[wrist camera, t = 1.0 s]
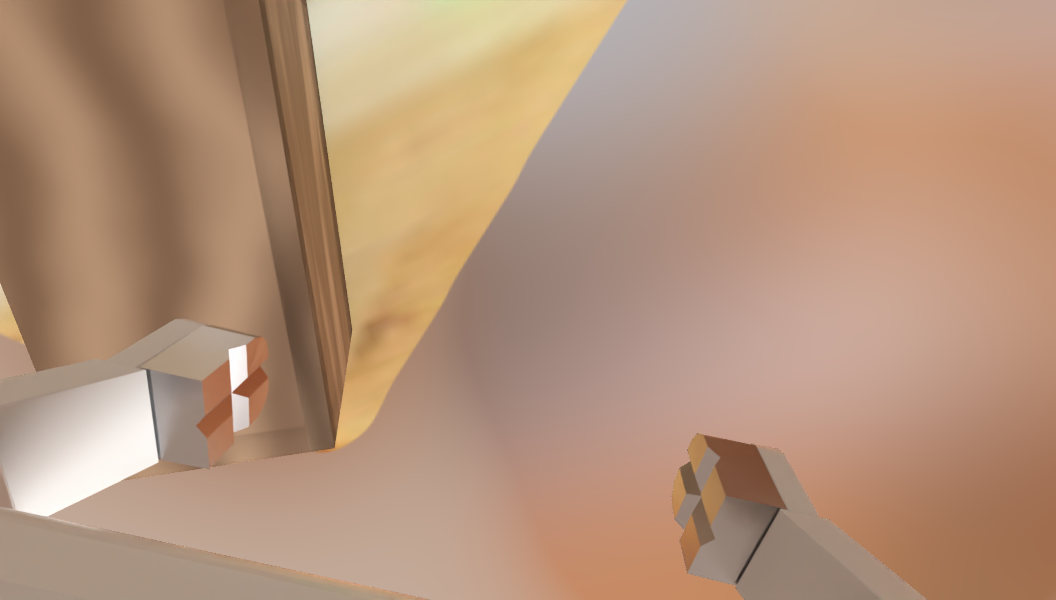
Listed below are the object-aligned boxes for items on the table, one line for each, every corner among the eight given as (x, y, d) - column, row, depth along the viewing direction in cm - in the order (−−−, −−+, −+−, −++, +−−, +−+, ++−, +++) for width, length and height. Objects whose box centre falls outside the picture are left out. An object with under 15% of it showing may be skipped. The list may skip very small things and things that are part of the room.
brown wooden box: (194, 346, 47) (83, 486, 30) (92, -32, 36) (-178, -157, 19) (352, 330, 50) (334, 448, 33) (303, -20, 39) (238, -117, 22)
